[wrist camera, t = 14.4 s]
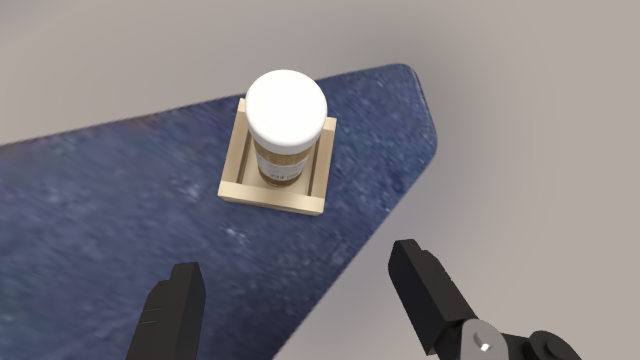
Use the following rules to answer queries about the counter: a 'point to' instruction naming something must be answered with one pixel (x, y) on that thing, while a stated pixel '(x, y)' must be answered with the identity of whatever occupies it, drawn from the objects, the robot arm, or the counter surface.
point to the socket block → (251, 189)
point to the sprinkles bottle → (284, 123)
